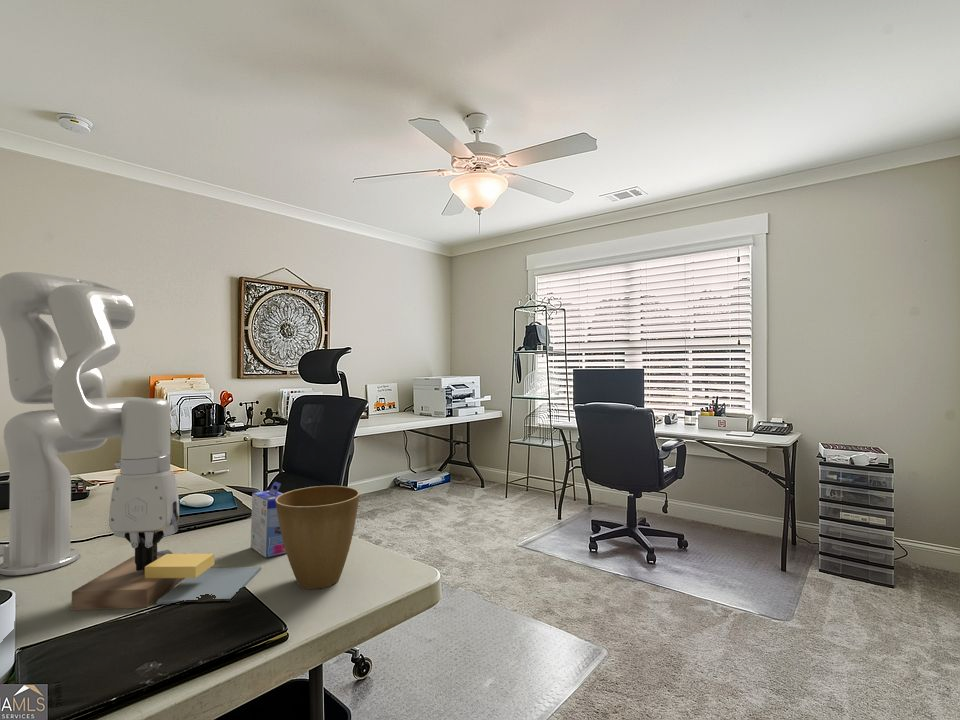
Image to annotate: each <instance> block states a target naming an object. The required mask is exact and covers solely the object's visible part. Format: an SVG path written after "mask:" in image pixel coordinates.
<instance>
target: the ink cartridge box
mask: <svg viewBox="0 0 960 720" xmlns="http://www.w3.org/2000/svg"><path fill="white" fill-rule="evenodd" d="M281 486H282V483H280V482H277V481H274V482H273V484H272V485H271V487H270V488H269V490H265V491H264V490H262V491H257V492H252V494H251V518H250V519H251V521H250V522H251V523H250V525H251V526H250V548H252V549H253V550H255V551H256V552H257V553H259V554H260V555H261V556H263V557H264V558H271V557H275V556H280V555H281V556H282V555H287V553H286V550H285V546H284V543H283V539H282V535H281V530H280V525H279V520H278V514H277V508H276V502H275V500H276V498H277V497H278V496H279V495H281V494H284V493H283V492H280V491H279V490H280V488H281ZM274 487H276V489H275V488H274Z"/></svg>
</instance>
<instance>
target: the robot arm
mask: <svg viewBox="0 0 960 720" xmlns="http://www.w3.org/2000/svg"><path fill="white" fill-rule="evenodd" d="M40 315H44V316H45V315H46V316H51V318H52V321H53V323H54V326H55V328H56V331H57V333H56V332H55V330H53V328H52V327H51V326H50V325H49V324H48V322H46V321H45V320H44V319H43V318H41V317H40ZM135 317H136V308H135V304H134V302H133V301H132V299H131V297H130V296H129V295H128V294H127V293H125V292H124V291H123V290H120V289H117V288H114V287H109V286H108V285H104V284H101V283H98V282H95V281H91V280H84V279H80V278H79V279H78V278H72V277H66V276H65V277H64V276H58V275H53V274H49V273H48V274H47V273H39V272H30V271H14V272H9V273H5V274H4V275H2V276H0V329H1V332H2V335H3V337H4V342H5V349H6V350H5V353H6V363H7V372H8V373H7V375H8V383H9V384H8V385H9V390H10V394H11V396H12V398H13V399H14V401H16V402H17V403H20V404H23V405H50V404H51V405H52V404H53V407H54V409H40V410H32V411H31V410H30V411H25V412H21V413H19V414H16V415H15V416H13V417H11V418H10V419H9V420H8V421H7V422H6V424H5V425H4V428H3V442H4V445H5V450H6V454H7V459H8V461H7V462H8V468H9V521H8V522H9V531H8V533H9V535H8V538H9V539H8V540H9V541H8V543H7V544H0V558H1V557H2V562H1V563H0V575H4V576H23V575H24V576H25V575H31V574H38V573H42V572H46V571H51V570H54V569H58V568H61V567H64V566H66V565H70V564H71V563H73V562H76V560H78V559H79V558H80V556H81V555H80V554H81V553H80V550H79V549H77V548H74V547H73V548H72V547H71V527H72V526H71V522H72V521H71V520H72V519H71V517H72V516H71V515H72V512H71V511H72V510H71V509H72V478H71V477H72V476H71V473H70V470H69V469H68V467H67V466H66V465H65V464H64V463H63V462H62V461H61V459H60V458H59V457H58V456H59V455H64V454H69V453H70V454H71V453H79V452H86V451H91V450H92V451H93V450H95V449H98V448H100V447H102V446H103V445H105V444H106V442H107V441H108V439H112V438H113V439H114V438H117V439H118V438H120V459H119V460H116V461H115V462H114V468H115V469H119V470H120V471H119V472H120V474H119V475H117V476H115V479H114V482H113V487H112V491H111V495H110V502H109V503H110V504H109V514H108V515H109V517H108V518H109V519H108V525H109V526H108V528H109V530H110V531H111V532H113V536H115V537H117V538H123V539H126V540H127V541H128V542H129V543H130V546H131V548H133V549H134V556H135V564H136V570H137V571H140V570H145V566H147V565H149V564H150V563H152V562H154V561H155V560H157V552H158V544H159V543H160V542H161V540H162V539H163V538H164V537H167V536H171V535H174V534H175V533H177V532H178V531H179V527H178V522H179V519H180V499H179V492H178V491H179V490H178V484H177V480H176V475H175V472H174V471H172V470H171V405H170V404H171V403H170V402H169V400H167V399H165V398H159V397H158V398H156V397H155V398H151V397H150V398H145V397H139V396H126V397H125V396H124V397H120V396H119V397H118V396H117V397H116V396H115V397H114V396H113V397H108V395H107V389H106V388H107V387H106V380H105V378H104V377H105V376H104V373H103V372H102V370H101V367H103V366H106V365H108V364H109V363H111V362H112V361H114V360H115V359H116V358H117V357H118V356H119V354H120V352H121V346H120V343H119V340H118V339H117V336H116V334H115V331H114V330H124V329H127V328H128V327H130V326H131V325H132V324H133V322H134V320H135ZM57 334H58V335H57ZM60 342H61V344H62V347H63V350H64V352H65V354H66V359H64V358H63V356H62V354H61V353H62V352H61V347H60V346H61V345H60Z"/></svg>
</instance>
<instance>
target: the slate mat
mask: <svg viewBox="0 0 960 720" xmlns="http://www.w3.org/2000/svg"><path fill="white" fill-rule="evenodd" d="M261 570H262V566H244V567H243V566H241V567H215V568H214V567H212V568H211V567H210V568H209V569H207V570H206V571H205V572H203V573H202V574H200V575H199V576H198V577H196V578H185V579H183V580H182V581H181V582H179V583H178V584H177V585H175V586H174V587H173V588H172V589H170V590H169V591H168V592H166V593H165V594H164V595H162V596H161V597H160V598H159V599H157V600H156V604H157V605H171V604H170V603H175V602H178V601H183V600H184V601H186V600H198V598H196V597H199V598H201V596H200V595H205V594H209V595H211V594H212V595H215V596H216V598H215V599H231V598H232V597H233V596H234V595H235V594H236V592H238V591H239V589H240V588H242V587H246V586H247V585H248V584H249V583H250V582H251V580H253V578H255V576H256V575H257V574H258V573H259V572H260V571H261ZM212 595H211V596H212ZM213 599H214V598H213Z"/></svg>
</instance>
